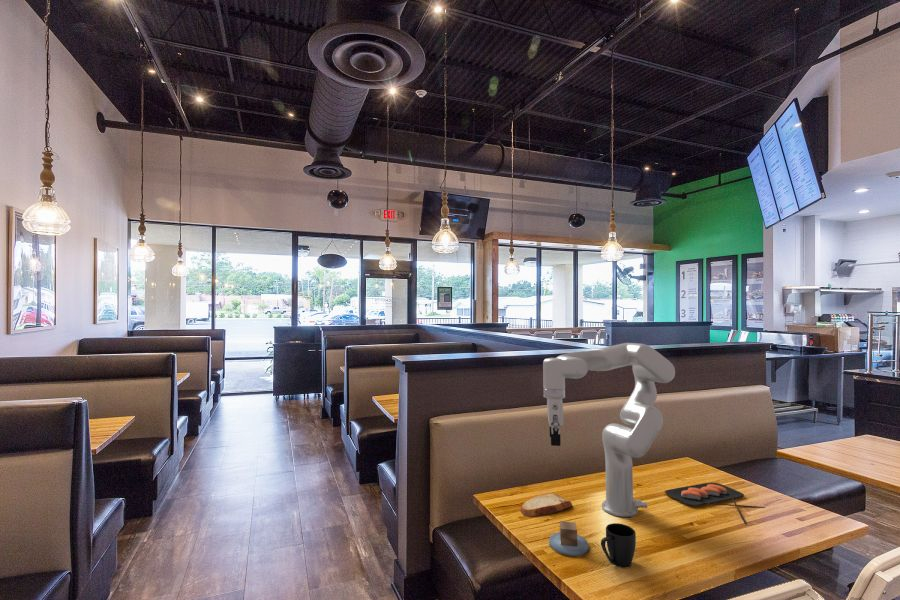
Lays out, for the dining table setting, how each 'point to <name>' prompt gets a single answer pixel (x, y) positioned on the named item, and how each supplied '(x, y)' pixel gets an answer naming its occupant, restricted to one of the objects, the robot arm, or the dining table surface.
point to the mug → (619, 544)
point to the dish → (568, 550)
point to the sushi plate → (707, 495)
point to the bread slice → (544, 505)
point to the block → (568, 533)
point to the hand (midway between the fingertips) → (554, 441)
